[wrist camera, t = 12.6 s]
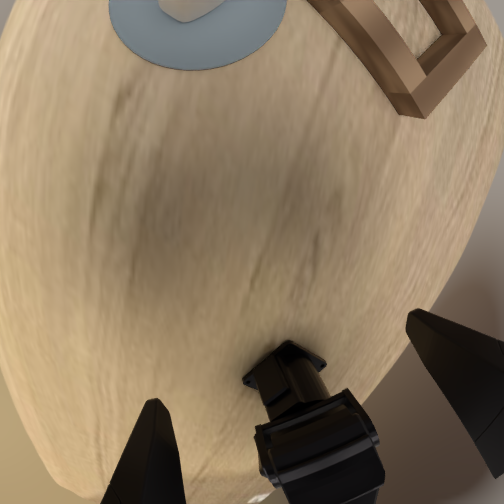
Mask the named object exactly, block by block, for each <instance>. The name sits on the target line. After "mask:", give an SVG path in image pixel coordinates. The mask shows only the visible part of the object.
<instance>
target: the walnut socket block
mask: <svg viewBox="0 0 504 504" xmlns="http://www.w3.org/2000/svg"><path fill="white" fill-rule="evenodd" d="M307 1H308V2H309V3H310V4H311V5H312V6H313V7H314V8H315V9H316V10H317V11H318V12H319V13H320V14H321V15H322V16H323V17H324V18H325V19H326V20H327V21H328V23H329V24H330V25H331V26H332V27H333V28H334V29H335V30H336V31H337V33H338V34H339V35H340V36H341V37H342V38H343V39H344V41H345V42H346V43H347V44H348V45H349V47H350V48H351V49H352V50H353V51H354V53H355V54H356V55H357V56H358V58H359V59H360V60H361V61H362V63H363V64H364V65H365V67H366V68H367V69H368V71H369V72H370V73H371V75H372V76H373V77H374V79H375V80H376V81H377V83H378V84H379V86H380V87H381V88H382V90H383V91H384V93H385V94H386V96H387V97H388V98H389V100H390V101H391V103H392V104H393V106H394V108H395V109H396V111H397V112H398V114H399V115H404V116H410V117H416V118H421V119H426V118H427V117H428V116H429V114H430V113H431V112H432V111H433V110H434V109H435V107H436V106H437V105H438V104H439V103H440V102H441V100H442V99H443V98H444V97H445V96H446V95H447V93H448V92H449V91H450V90H451V89H452V88H453V86H454V85H455V84H456V83H457V82H458V80H459V79H460V78H461V77H462V76H463V74H464V73H465V72H466V71H467V70H468V68H469V67H470V66H471V65H472V63H473V62H474V61H475V60H476V59H477V57H478V56H479V55H480V54H481V52H482V51H483V50H484V49H485V47H486V46H487V44H486V42H485V40H484V38H483V36H482V34H481V32H480V30H479V29H478V27H477V25H476V23H475V21H474V19H473V18H472V16H471V14H470V12H469V11H468V9H467V7H466V5H465V4H464V2H463V1H462V0H420V2H421V3H422V5H423V6H424V7H425V9H426V10H427V12H428V13H429V15H430V16H431V18H432V19H433V21H434V22H435V24H436V25H437V27H438V29H439V30H440V32H441V34H442V36H441V37H440V38H438V39H437V40H436V41H435V42H434V43H433V44H432V45H431V46H430V47H429V48H428V49H427V50H426V51H425V52H424V53H423V54H422V55H421V56H420V57H419V58H418V59H417V60H416V59H415V57H414V55H413V54H412V52H411V51H410V49H409V48H408V46H407V45H406V43H405V42H404V41H403V39H402V38H401V36H400V35H399V33H398V32H397V31H396V29H395V28H394V27H393V25H392V24H391V23H390V21H389V20H388V19H387V17H386V16H385V15H384V14H383V12H382V11H381V10H380V9H379V7H378V6H377V5H376V4H375V2H374V1H373V0H307Z"/></svg>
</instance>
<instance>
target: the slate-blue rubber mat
mask: <svg viewBox="0 0 504 504" xmlns="http://www.w3.org/2000/svg"><path fill="white" fill-rule="evenodd" d="M286 3H287V0H225V1H224V2H223V3H221V4H220V5H219V6H217V7H216V8H215V9H213V10H212V11H210V12H208V13H207V14H205V15H203V16H201V17H199V18H197V19H195V20H192V21H190V22H184V23H183V22H180V21H178V20H176V19H174V18H173V17H171V16H170V15H168V14H167V13H165V12H164V11H162V9H161V8H160V7H159V3H158V0H109V14H110V19H111V22H112V25H113V27H114V30H115V31H116V33H117V35H118V36H119V38H120V39H121V40H122V41H123V43H124V44H125V45H126V46H127V47H128V48H129V49H130V50H132V51H133V52H134V53H135V54H137V55H138V56H140V57H141V58H143V59H145V60H147V61H149V62H151V63H154V64H157V65H160V66H163V67H168V68H172V69H180V70H204V69H212V68H217V67H222V66H225V65H228V64H231V63H234V62H236V61H238V60H240V59H243V58H245V57H246V56H248V55H250V54H251V53H253V52H255V51H256V50H257V49H258V48H260V47H261V46H262V45H264V44H265V43H266V42H267V41H268V40H269V39H270V38H271V36H272V35H273V34H274V33H275V31H276V30H277V28H278V27H279V25H280V23H281V21H282V18H283V16H284V13H285V9H286Z"/></svg>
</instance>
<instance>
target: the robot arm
mask: <svg viewBox="0 0 504 504" xmlns="http://www.w3.org/2000/svg"><path fill="white" fill-rule="evenodd" d="M406 333H407V335H408V337H409V339H410V340H411V342H412V344H413V345H414V348H415V349H416V351H417V353H418V355H419V357H420V358H421V360H422V362H423V364H424V366H425V367H426V369H427V370H428V372H429V373H430V374H431V376H432V377H433V379H434V380H435V382H436V383H437V385H438V386H439V388H440V389H441V391H442V392H443V394H444V395H445V397H446V398H447V400H448V401H449V403H450V405H451V406H452V408H453V409H454V411H455V412H456V414H457V415H458V417H459V419H460V420H461V422H462V423H463V425H464V427H465V428H466V430H467V431H468V433H469V435H470V436H471V438H472V440H473V441H474V443H475V445H476V446H477V449H478V450H479V452H480V454H481V455H482V457H483V459H484V461H485V462H486V464H487V466H488V468H489V470H490V471H491V473H492V475H493V477H494V478H495V479H496V478H498V477H499V476H501V475H502V474H503V473H504V342H503V341H501V340H498V339H496V338H493V337H491V336H488V335H486V334H483V333H481V332H478V331H475V330H473V329H471V328H468V327H465V326H463V325H460V324H458V323H455V322H453V321H450V320H448V319H445V318H443V317H440V316H437V315H435V314H433V313H430V312H427V311H425V310H422V309H419V308H417V309H414V310H412V311H410V312H409V313H408V317H407V322H406ZM326 365H327V363H326V362H325V360H323V359H321V358H320V357H318V356H316V355H314V354H313V353H311V352H309V351H308V350H306V349H304V348H302V347H301V346H299V345H297V344H296V343H294V342H292V341H286V342H285V343H284V344H283V345H281V346H280V347H279V348H278V349H277V350H276V351H275V352H273V353H272V354H271V355H270V356H269V357H268V358H266V359H265V360H264V361H263V362H262V363H261V364H259V365H258V366H257V367H256V368H255V369H253V370H252V371H251V372H250V373H249V374H247V375H246V376H245V377H244V378H243V379H242V381H243V384H244V385H246V386H248V387H251V388H253V389H256V390H258V391H259V394H260V397H261V400H262V403H263V405H264V406H265V408H266V411H267V414H268V417H269V420H270V422H268V423H266V424H263V425H261V424H260V425H257V426H255V429H256V434H255V436H254V439H255V443H256V446H257V450H258V458H259V471H260V474H261V475H262V476H264V477H266V478H268V479H269V481H270V482H271V483H272V484H273V486H274V487H275V488H276V489H277V488H280V487H282V489H283V491H284V493H285V495H286V497H287V499H288V502H289V504H376V499H377V495H378V491H379V487H381V486H383V485H384V480H385V470H384V469H383V465H382V463H381V460H380V458H379V456H378V453H377V451H376V448H375V447H377V446H379V444H380V443H379V438H378V434H377V432H376V429H375V427H374V425H373V424H372V421H371V419H370V418H369V416H368V415H367V413H366V412H365V411H364V409H363V408H362V407H361V405H360V404H359V403H358V401H357V400H356V399H355V397H354V396H353V395H352V393H351V392H350V391H349V389H348V388H346V389H344V390H342V392H340V393H338V394H336V395H334V396H332V397H331V396H330V394H329V392H328V390H327V388H326V386H325V384H324V382H323V381H322V379H321V377H320V375H319V372H320V371H321V370H322V369H324V368H325V367H326ZM100 504H186V499H185V493H184V486H183V479H182V472H181V464H180V457H179V451H178V447H177V443H176V439H175V434H174V430H173V426H172V421H171V417H170V413H169V411H168V409H167V408H166V407H165V406H164V404H163V403H162V402H161V400H160V399H158V398H154V399H149V400H147V401H146V402H145V404H144V407H143V409H142V411H141V413H140V415H139V417H138V420H137V422H136V424H135V426H134V428H133V431H132V433H131V435H130V437H129V440H128V442H127V444H126V446H125V449H124V451H123V453H122V455H121V458H120V460H119V462H118V464H117V467H116V469H115V471H114V474H113V476H112V478H111V481H110V484H109V485H108V487H107V490H106V492H105V494H104V497H103V499H102V501H101V503H100Z"/></svg>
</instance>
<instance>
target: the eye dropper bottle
mask: <svg viewBox="0 0 504 504" xmlns="http://www.w3.org/2000/svg"><path fill="white" fill-rule="evenodd" d="M224 1H225V0H158V3H159V7H160V8H161V9H162V11H164V12H165V13H167V14H168V15H170V16H171V17H173V18H174V19H176V20H178V21H180V22H183V23H184V22H190V21H192V20H195V19H197V18H199V17H201V16H203V15H205V14H207V13H208V12H210V11H212V10H213V9H215V8H216V7H217V6H219V5H220V4H221V3H223V2H224Z"/></svg>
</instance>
